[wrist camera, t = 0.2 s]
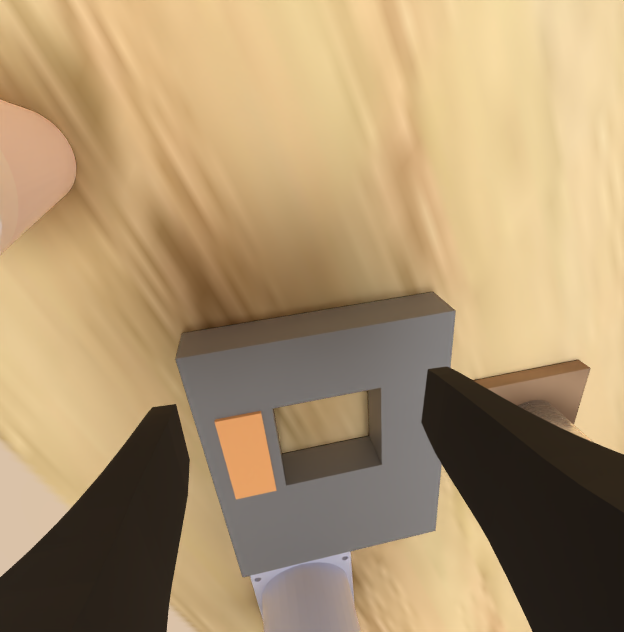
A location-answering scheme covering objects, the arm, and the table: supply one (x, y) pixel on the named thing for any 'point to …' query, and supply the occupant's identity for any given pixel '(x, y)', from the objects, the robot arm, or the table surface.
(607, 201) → the table surface
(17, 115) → the smoothie
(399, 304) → the hole plate
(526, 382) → the tab
